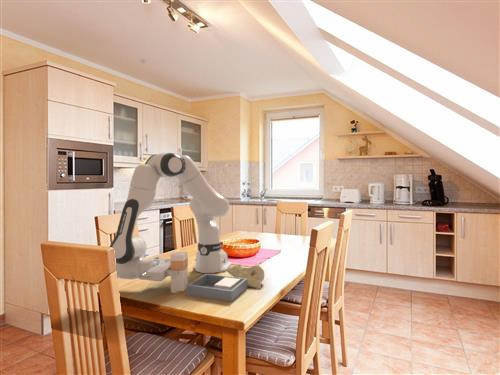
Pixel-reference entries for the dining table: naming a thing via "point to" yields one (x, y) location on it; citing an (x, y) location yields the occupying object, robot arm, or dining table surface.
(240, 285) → the tote
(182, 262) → the juice carton
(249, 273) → the beige rock
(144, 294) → the dining table surface
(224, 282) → the white rectangular block
